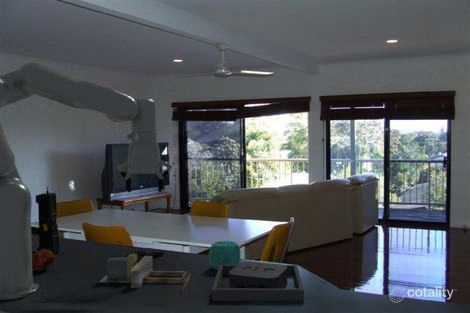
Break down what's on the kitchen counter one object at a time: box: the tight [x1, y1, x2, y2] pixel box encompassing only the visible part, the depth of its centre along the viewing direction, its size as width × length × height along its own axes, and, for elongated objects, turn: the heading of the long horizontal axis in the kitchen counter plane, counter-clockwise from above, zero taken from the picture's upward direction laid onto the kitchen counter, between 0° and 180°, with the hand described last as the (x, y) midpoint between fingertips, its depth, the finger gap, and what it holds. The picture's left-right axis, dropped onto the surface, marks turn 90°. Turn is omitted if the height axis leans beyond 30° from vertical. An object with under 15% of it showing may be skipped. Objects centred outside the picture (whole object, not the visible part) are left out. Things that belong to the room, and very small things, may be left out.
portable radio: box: [35, 186, 60, 255], centre depth 175 cm, size 8×6×25 cm
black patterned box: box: [110, 249, 164, 264], centre depth 159 cm, size 5×20×15 cm
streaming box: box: [228, 261, 288, 289], centre depth 136 cm, size 14×14×5 cm
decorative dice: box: [208, 240, 242, 271], centre depth 156 cm, size 8×8×8 cm
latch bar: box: [106, 253, 137, 281], centre depth 139 cm, size 8×4×7 cm, turn 87°
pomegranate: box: [32, 249, 56, 273], centre depth 154 cm, size 7×7×10 cm
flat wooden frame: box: [98, 256, 191, 294], centre depth 139 cm, size 26×16×6 cm, turn 87°
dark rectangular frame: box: [211, 264, 305, 302], centre depth 135 cm, size 24×24×3 cm
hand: (145, 191), depth 151 cm, fingers open, 9 cm apart
